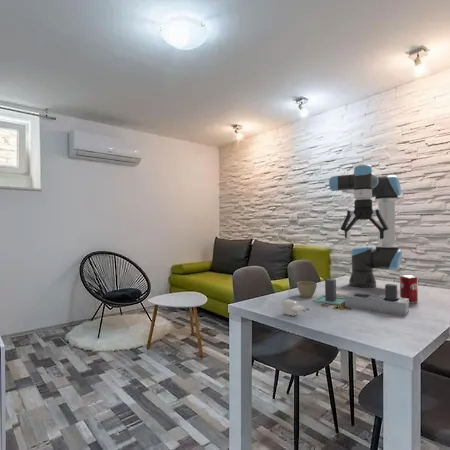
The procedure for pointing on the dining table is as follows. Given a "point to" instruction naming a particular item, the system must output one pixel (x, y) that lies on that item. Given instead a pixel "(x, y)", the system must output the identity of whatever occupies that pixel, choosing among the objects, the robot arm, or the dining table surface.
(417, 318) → the dining table surface
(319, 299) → the tray
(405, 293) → the soda can
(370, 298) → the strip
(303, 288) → the flower pot
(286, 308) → the white lumpy piece
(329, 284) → the plug
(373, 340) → the dining table surface
